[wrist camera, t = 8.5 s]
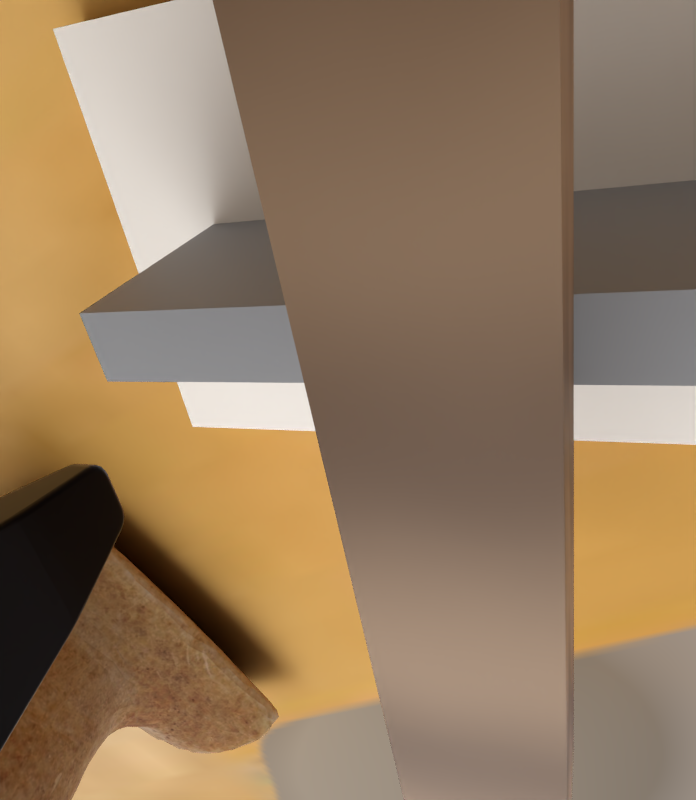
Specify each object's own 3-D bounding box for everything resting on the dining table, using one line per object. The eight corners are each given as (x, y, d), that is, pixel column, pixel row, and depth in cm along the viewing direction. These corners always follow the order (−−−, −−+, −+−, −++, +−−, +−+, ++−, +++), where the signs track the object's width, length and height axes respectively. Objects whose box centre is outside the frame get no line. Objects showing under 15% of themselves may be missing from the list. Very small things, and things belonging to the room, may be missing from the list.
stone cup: (-43, 536, 34) (-393, 845, 22) (69, 453, 27) (-343, 831, 15) (159, 717, 38) (-45, 1063, 26) (299, 682, 31) (113, 1126, 19)
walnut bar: (573, 746, 16) (568, 912, 13) (450, 722, 17) (421, 872, 14) (572, -1007, 5) (537, -2371, 2) (218, -759, 6) (-129, -1423, 3)
